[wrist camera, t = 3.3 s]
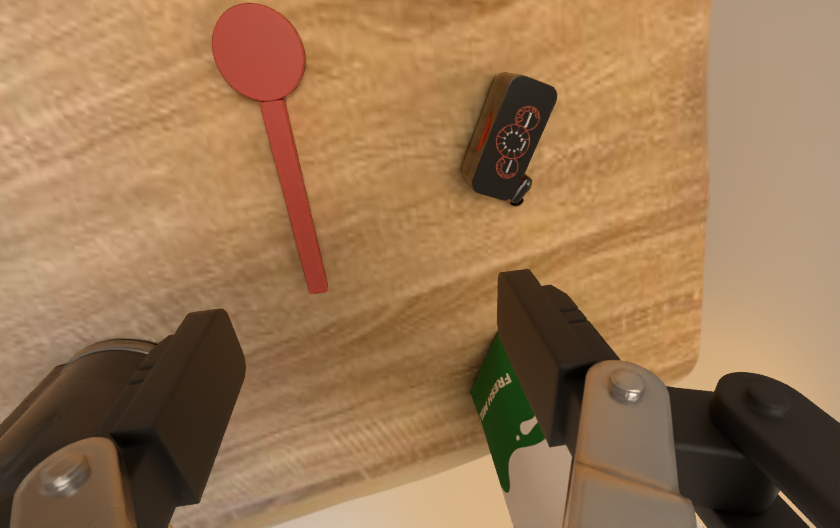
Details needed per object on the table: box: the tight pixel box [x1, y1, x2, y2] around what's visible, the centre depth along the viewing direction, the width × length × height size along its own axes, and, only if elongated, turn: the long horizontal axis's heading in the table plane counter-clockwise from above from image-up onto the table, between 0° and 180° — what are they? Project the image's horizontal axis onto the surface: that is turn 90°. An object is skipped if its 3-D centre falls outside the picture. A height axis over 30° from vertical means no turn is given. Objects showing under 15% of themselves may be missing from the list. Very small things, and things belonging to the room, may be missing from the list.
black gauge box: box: [462, 72, 557, 207], centre depth 23 cm, size 5×7×3 cm, turn 161°
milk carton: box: [470, 332, 703, 528], centre depth 25 cm, size 9×9×20 cm
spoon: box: [212, 3, 328, 294], centre depth 23 cm, size 4×17×1 cm, turn 4°
